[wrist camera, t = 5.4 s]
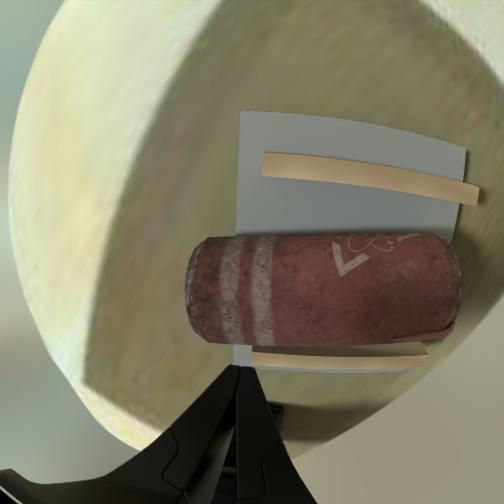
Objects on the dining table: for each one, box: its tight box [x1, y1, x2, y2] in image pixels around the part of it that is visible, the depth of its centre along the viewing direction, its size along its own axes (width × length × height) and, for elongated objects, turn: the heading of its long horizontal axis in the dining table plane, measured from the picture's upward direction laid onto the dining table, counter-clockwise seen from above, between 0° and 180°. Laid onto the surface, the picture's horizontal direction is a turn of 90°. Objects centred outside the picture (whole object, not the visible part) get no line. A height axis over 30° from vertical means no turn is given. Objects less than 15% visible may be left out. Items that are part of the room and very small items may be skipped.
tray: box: [233, 111, 480, 373], centre depth 17 cm, size 18×14×3 cm
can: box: [185, 233, 462, 347], centre depth 15 cm, size 6×6×14 cm
